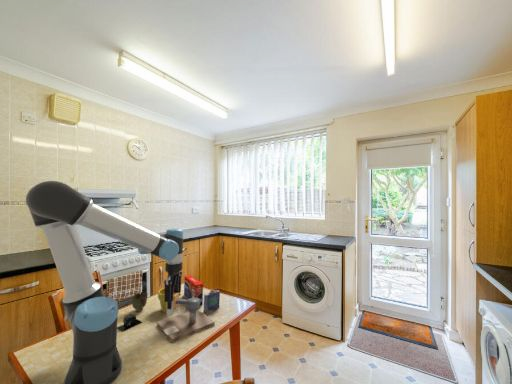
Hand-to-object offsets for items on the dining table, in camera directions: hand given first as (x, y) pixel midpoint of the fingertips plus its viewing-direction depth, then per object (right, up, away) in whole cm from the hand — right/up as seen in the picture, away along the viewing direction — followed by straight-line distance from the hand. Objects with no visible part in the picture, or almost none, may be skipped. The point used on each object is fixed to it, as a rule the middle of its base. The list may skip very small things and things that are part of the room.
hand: (172, 312), depth 107 cm
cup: (-22, -5, +12) cm, 25 cm away
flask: (+15, -6, +14) cm, 22 cm away
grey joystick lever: (+5, +2, -1) cm, 6 cm away
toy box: (+2, -6, +25) cm, 26 cm away
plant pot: (-7, -6, +14) cm, 17 cm away
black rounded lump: (-19, -6, -2) cm, 20 cm away
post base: (+7, -5, -1) cm, 8 cm away
